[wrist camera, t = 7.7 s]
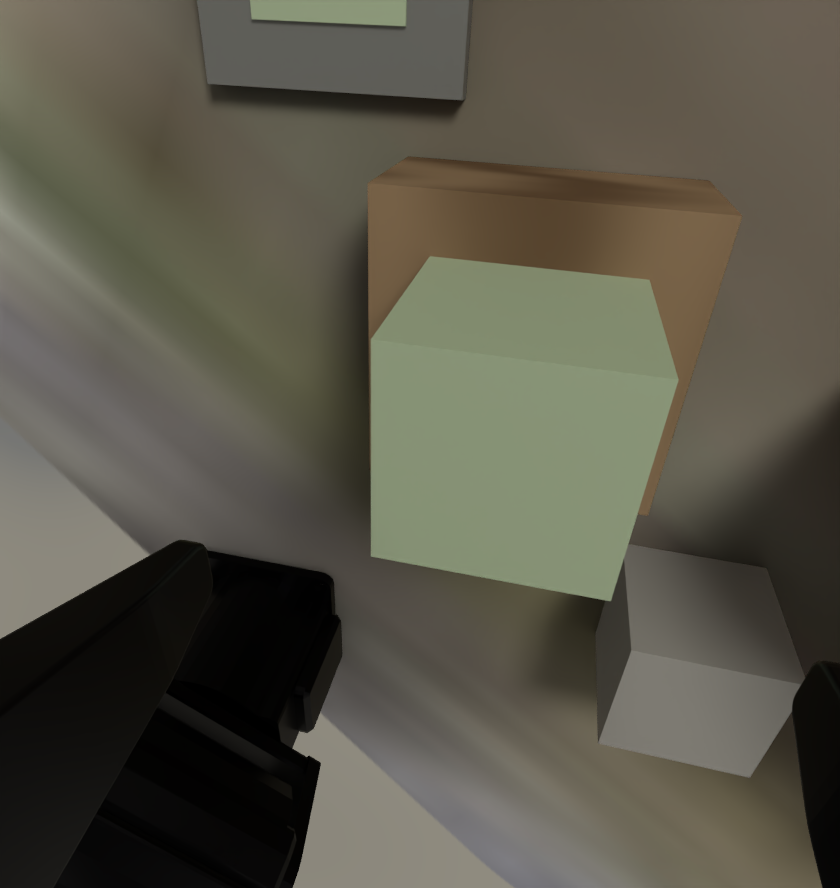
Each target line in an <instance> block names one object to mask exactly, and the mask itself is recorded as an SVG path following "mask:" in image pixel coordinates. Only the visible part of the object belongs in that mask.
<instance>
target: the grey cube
mask: <svg viewBox="0 0 840 888" xmlns="http://www.w3.org/2000/svg"><path fill="white" fill-rule="evenodd" d="M595 635H596V679H597V724H598V744H603V745H607V746H611V747H616V748H620V749H625V750H629V751H633V752H638V753H642V754H647V755H651V756H656V757H660V758H664V759H669V760H673V761H678V762H682V763H687V764H691V765H695V766H700V767H704V768H709V769H713V770H718V771H722V772H726V773H731V774H735V775H740V776H744V777H749V778H750V777H751V775H752V773H753V772H754V770H755V769H756V767H757V766H758V764H759V762H760V761H761V759H762V758H763V756H764V755H765V753H766V751H767V750H768V748H769V747H770V745H771V743H772V742H773V740H774V739H775V737H776V736H777V734H778V732H779V731H780V729H781V728H782V726H783V725H784V723H785V721H786V720H787V718H788V717H789V715H790V714H791V712H792V703H793V699H794V696H795V694H796V692H797V690H798V689H799V687H800V685H801V684H802V682H803V680H804V679H805V676H804V673H803V670H802V667H801V665H800V662H799V659H798V656H797V653H796V650H795V647H794V645H793V642H792V639H791V636H790V633H789V630H788V628H787V625H786V622H785V619H784V616H783V613H782V610H781V608H780V605H779V602H778V599H777V596H776V593H775V591H774V588H773V585H772V582H771V579H770V576H769V573H768V571H767V568H763V567H757V566H751V565H745V564H740V563H734V562H728V561H722V560H717V559H711V558H705V557H700V556H694V555H688V554H682V553H677V552H671V551H665V550H659V549H654V548H648V547H642V546H637V545H631V544H628V547H627V550H626V553H625V556H624V560H623V563H622V566H621V570H620V573H619V576H618V579H617V583H616V586H615V589H614V592H613V596H612V599H611V601H606V600H605V603H604V607H603V610H602V613H601V617H600V620H599V623H598V627H597V630H596V633H595Z"/></svg>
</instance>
